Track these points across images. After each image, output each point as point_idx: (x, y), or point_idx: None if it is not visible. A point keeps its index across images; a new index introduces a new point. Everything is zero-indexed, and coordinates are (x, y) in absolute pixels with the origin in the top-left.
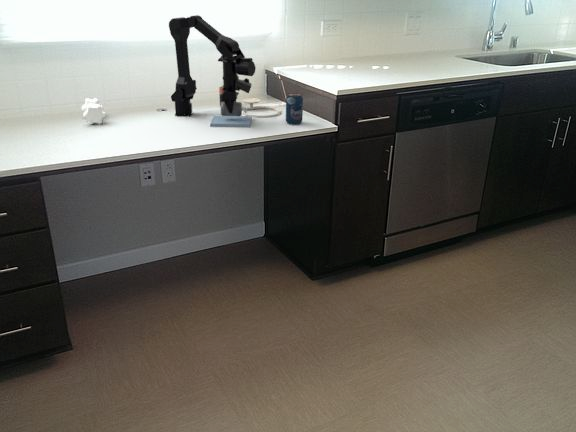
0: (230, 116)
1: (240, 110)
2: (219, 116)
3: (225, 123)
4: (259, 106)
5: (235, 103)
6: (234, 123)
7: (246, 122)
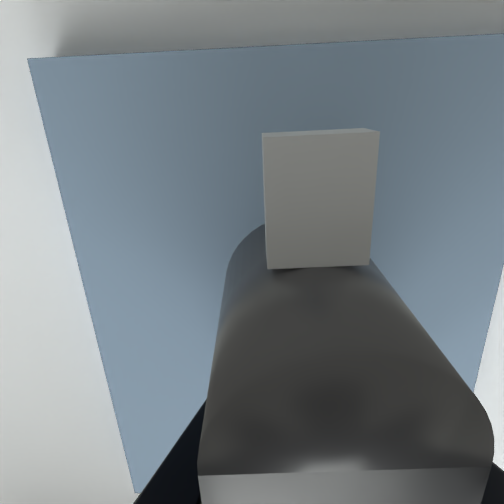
0: (136, 351)
1: (374, 268)
2: (163, 448)
3: (461, 364)
4: None
5: (411, 502)
6: (472, 268)
7: (435, 105)
